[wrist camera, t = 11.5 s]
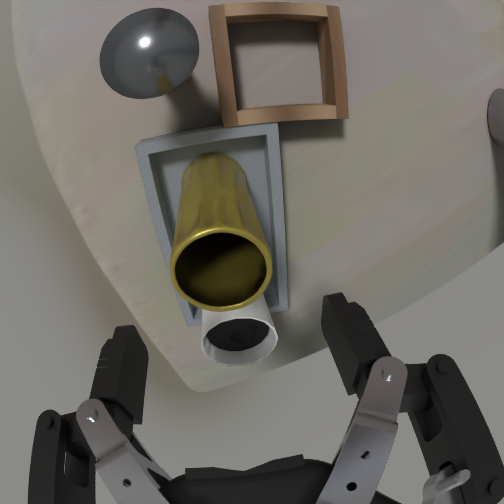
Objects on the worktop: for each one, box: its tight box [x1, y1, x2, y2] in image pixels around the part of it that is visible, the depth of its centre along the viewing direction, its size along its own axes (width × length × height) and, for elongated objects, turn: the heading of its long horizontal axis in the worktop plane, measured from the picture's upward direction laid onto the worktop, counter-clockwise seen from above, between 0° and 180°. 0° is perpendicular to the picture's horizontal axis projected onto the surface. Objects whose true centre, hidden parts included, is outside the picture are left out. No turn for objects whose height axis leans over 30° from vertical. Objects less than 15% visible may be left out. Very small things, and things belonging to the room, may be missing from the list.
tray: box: [135, 122, 288, 327], centre depth 28 cm, size 12×21×3 cm, turn 6°
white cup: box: [201, 294, 278, 366], centre depth 28 cm, size 7×7×10 cm
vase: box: [170, 153, 273, 312], centre depth 20 cm, size 6×6×14 cm
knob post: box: [100, 8, 199, 99], centre depth 16 cm, size 6×6×9 cm
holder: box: [209, 2, 349, 128], centre depth 20 cm, size 11×11×3 cm
